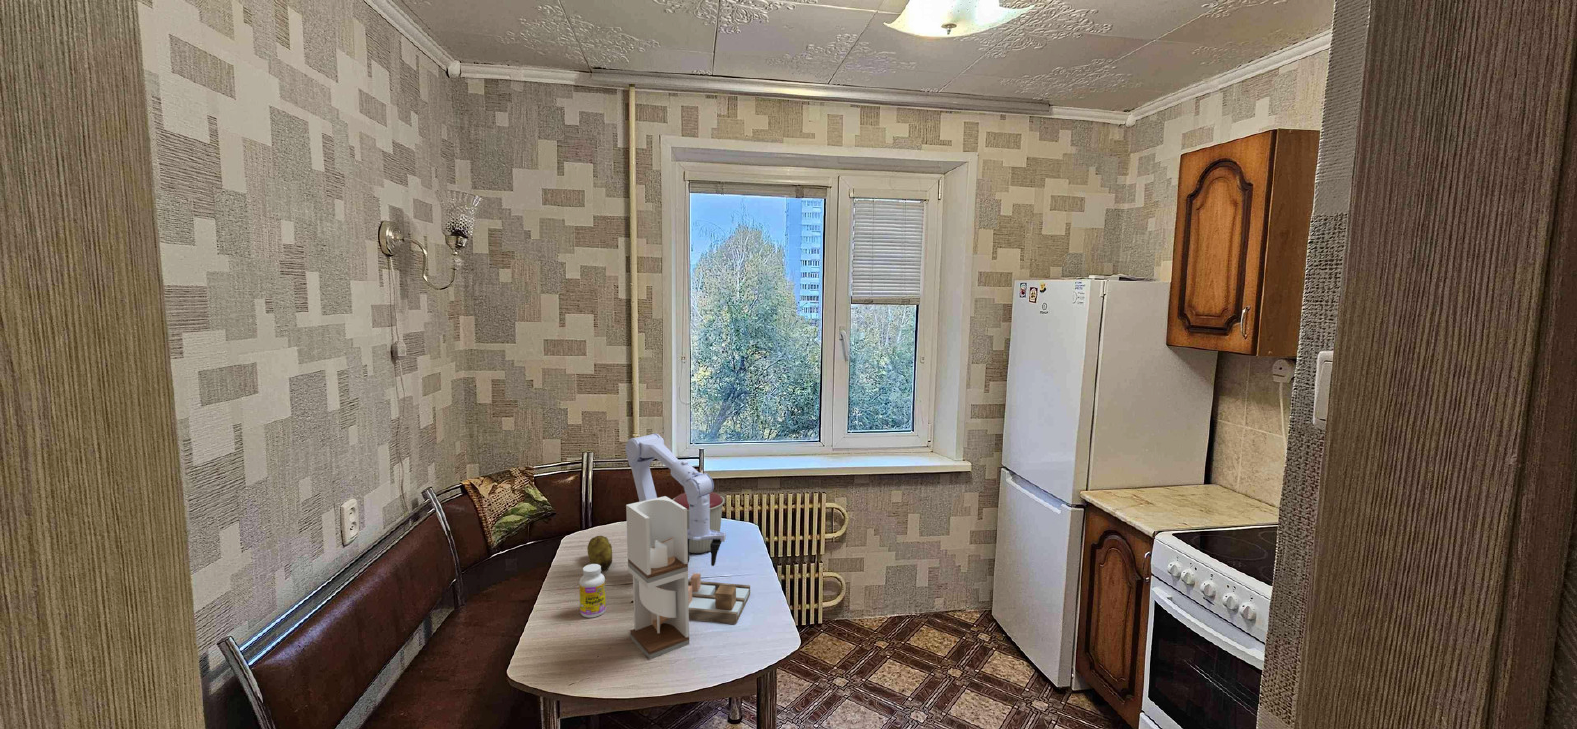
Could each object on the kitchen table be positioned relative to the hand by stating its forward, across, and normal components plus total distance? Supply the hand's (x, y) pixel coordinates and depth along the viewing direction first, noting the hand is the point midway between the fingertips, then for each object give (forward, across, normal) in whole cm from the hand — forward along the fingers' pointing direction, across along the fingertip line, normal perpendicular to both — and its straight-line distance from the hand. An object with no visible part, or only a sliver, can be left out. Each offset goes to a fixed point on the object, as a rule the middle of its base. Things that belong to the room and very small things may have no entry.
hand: (700, 563), depth 174 cm
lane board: (+10, +2, -4) cm, 11 cm away
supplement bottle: (+11, -27, -11) cm, 31 cm away
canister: (+11, -10, +34) cm, 37 cm away
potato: (+11, -38, +17) cm, 43 cm away
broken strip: (+10, +6, 0) cm, 12 cm away
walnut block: (+8, +9, -8) cm, 14 cm away
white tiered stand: (+10, -5, -22) cm, 25 cm away
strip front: (+9, +5, -7) cm, 13 cm away
